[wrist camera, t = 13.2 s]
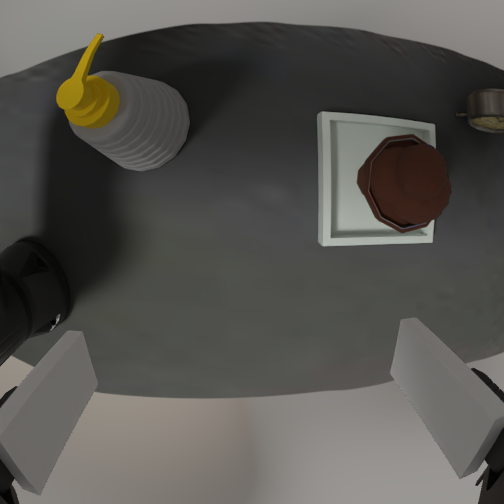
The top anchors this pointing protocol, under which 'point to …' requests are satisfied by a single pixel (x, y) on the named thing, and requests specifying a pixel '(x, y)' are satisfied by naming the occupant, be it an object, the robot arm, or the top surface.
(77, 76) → the soap bottle
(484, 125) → the alarm clock
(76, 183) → the top surface
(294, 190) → the top surface
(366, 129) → the tray
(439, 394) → the robot arm
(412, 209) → the ice cream bowl
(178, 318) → the top surface
